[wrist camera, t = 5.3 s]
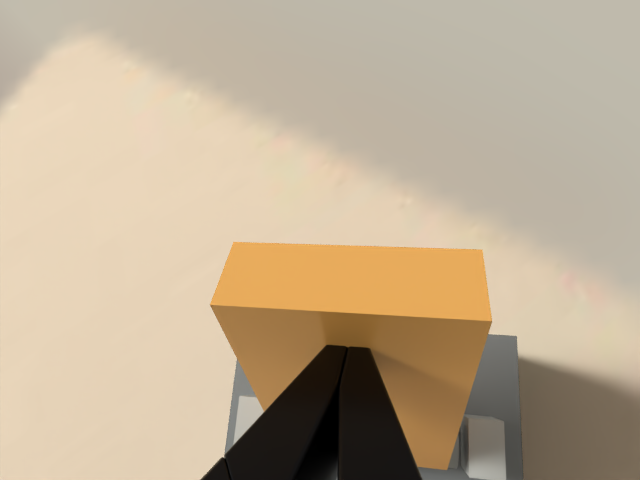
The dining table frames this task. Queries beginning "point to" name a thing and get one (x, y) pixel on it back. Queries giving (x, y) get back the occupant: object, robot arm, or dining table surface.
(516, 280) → the dining table surface
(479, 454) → the switch box
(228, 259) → the toggle lever
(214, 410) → the dining table surface
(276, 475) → the robot arm
